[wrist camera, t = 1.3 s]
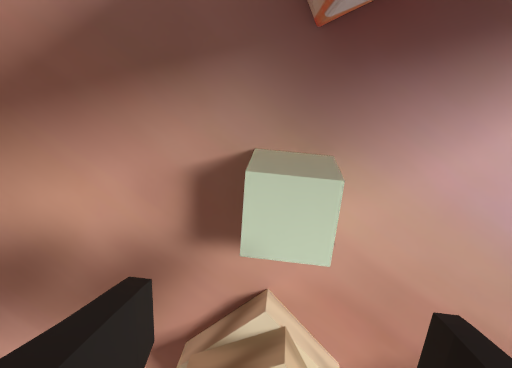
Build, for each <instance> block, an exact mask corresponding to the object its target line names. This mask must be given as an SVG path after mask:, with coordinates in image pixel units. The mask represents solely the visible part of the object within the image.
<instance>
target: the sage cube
mask: <svg viewBox="0 0 512 368" xmlns="http://www.w3.org/2000/svg"><path fill="white" fill-rule="evenodd" d="M344 182H345V181H344V178H343V176H342V174H341V172H340V169H339V167H338V165H337V163H336V161H335V158H334V156H328V155H318V154H307V153H297V152H287V151H276V150H266V149H256V148H255V150H254V152H253V155H252V157H251V159H250V162H249V164H248V166H247V169H246V171H245V186H244V201H243V216H242V231H241V246H240V256H242V257H251V258H259V259H268V260H276V261H285V262H293V263H302V264H310V265H319V266H328V267H330V264H331V258H332V252H333V246H334V241H335V235H336V229H337V223H338V217H339V211H340V206H341V200H342V194H343V188H344Z"/></svg>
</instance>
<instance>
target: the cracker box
mask: <svg viewBox="0 0 512 368" xmlns="http://www.w3.org/2000/svg"><path fill="white" fill-rule="evenodd" d="M307 1H308V3H309V6H310V9H311V11H312V14H313V17H314V20H315V23H316V25H317V26H318V27H320V26H322V25H324V24H326V23H328V22H330V21H332V20H334V19H336V18H338V17H340V16H342V15H344V14H346V13H348V12H350V11H353V10H355V9H357V8H359V7H361V6H363V5H365V4H367V3H369V2H372V1H374V0H307Z"/></svg>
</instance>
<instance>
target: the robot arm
mask: <svg viewBox="0 0 512 368" xmlns="http://www.w3.org/2000/svg"><path fill="white" fill-rule="evenodd" d="M153 343H154V321H153V298H152V279H145V278H136V277H128V278H126V279H125V280H123V281H122V282H120V283H119V284H117V285H116V286H114V287H112V288H111V289H110V290H108V291H107V292H105V293H104V294H102V295H101V296H99V297H98V298H96V299H95V300H93V301H92V302H90V303H89V304H87V305H86V306H84V307H83V308H81V309H80V310H78V311H77V312H75V313H74V314H72V315H70V316H69V317H67V318H66V319H64V320H63V321H61V322H60V323H58V324H57V325H55V326H54V327H52V328H50V329H49V330H47V331H45V332H44V333H42V334H40V335H39V336H37V337H35V338H34V339H32V340H31V341H29V342H27V343H26V344H24V345H22V346H21V347H19V348H17V349H16V350H14V351H12V352H11V353H9V354H7V355H6V356H4V357H2V358H0V368H144V367H145V365H146V362H147V359H148V357H149V354H150V351H151V349H152V346H153ZM417 368H512V358H511V357H509V356H508V355H507V354H506V353H505V352H503V351H502V350H501V349H500V348H499V347H498V346H496V345H495V344H494V343H493V342H492V341H490V340H489V339H488V338H487V337H485V336H484V335H483V334H482V333H481V332H479V331H478V330H477V329H476V328H474V327H473V326H472V325H471V324H469V323H468V322H467V321H466V320H464V319H463V318H462V317H460V316H459V315H450V314H442V313H433V315H432V319H431V322H430V326H429V329H428V332H427V336H426V339H425V343H424V346H423V349H422V353H421V356H420V359H419V363H418V366H417Z"/></svg>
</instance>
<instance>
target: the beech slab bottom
mask: <svg viewBox="0 0 512 368" xmlns="http://www.w3.org/2000/svg"><path fill="white" fill-rule="evenodd" d="M284 326H286V328H287V330H288V332H289V334H290V336H291V338H292V339H293V341H294V343H295V345H296V347H297V349H298V351H299V353H300V355H301V357H302V359H303V361H304V362H305V364H306V366H307V368H339V363H338V362H337V361H336V360H335V359H334V358H333V357H332V356H331V355H330V354H329V353H328V352H327V351H326V350H325V349H324V347H323V346H322V345H321V344H320V343H319V342H318V341H317V340H316V339H315V338H314V337H313V336H312V335H311V334H310V333H309V332H308V331H307V329H306V328H305V327H304V326H303V325H302V324H301V323H300V322H299V321H298V320H297V319H296V318H295V317H294V316H293V315H292V314H291V313H290V311H289V310H288V309H287V308H286V307H285V306H284V305H283V304H282V303H281V302H280V301H279V300H278V299H277V298H276V297H275V296H274V295H273V293H272V292H271V291H270V290H269V289H266V290H265V291H263V292H262V293H260V294H259V295H257V296H256V297H254V298H253V299H251V300H250V301H248V302H247V303H245V304H244V305H242V306H241V307H239V308H238V309H236V310H235V311H233V312H231V313H230V314H228V315H227V316H225V317H224V318H222V319H221V320H219V321H218V322H216V323H215V324H213V325H212V326H210V327H209V328H207V329H206V330H204V331H203V332H201V333H200V334H198V335H196V336H195V337H193V338H192V339H190V340H189V341H187V342H186V344H185V346H184V349H183V351H182V354H181V357H180V359H179V362H178V365H177V367H176V368H187V365H188V362H189V359H190V356H191V355H193V354H196V353H199V352H203V351H206V350H209V349H212V348H216V347H219V346H222V345H225V344H229V343H232V342H235V341H238V340H242V339H245V338H248V337H252V336H255V335H258V334H261V333H265V332H268V331H271V330H274V329H278V328H281V327H284Z"/></svg>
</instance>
